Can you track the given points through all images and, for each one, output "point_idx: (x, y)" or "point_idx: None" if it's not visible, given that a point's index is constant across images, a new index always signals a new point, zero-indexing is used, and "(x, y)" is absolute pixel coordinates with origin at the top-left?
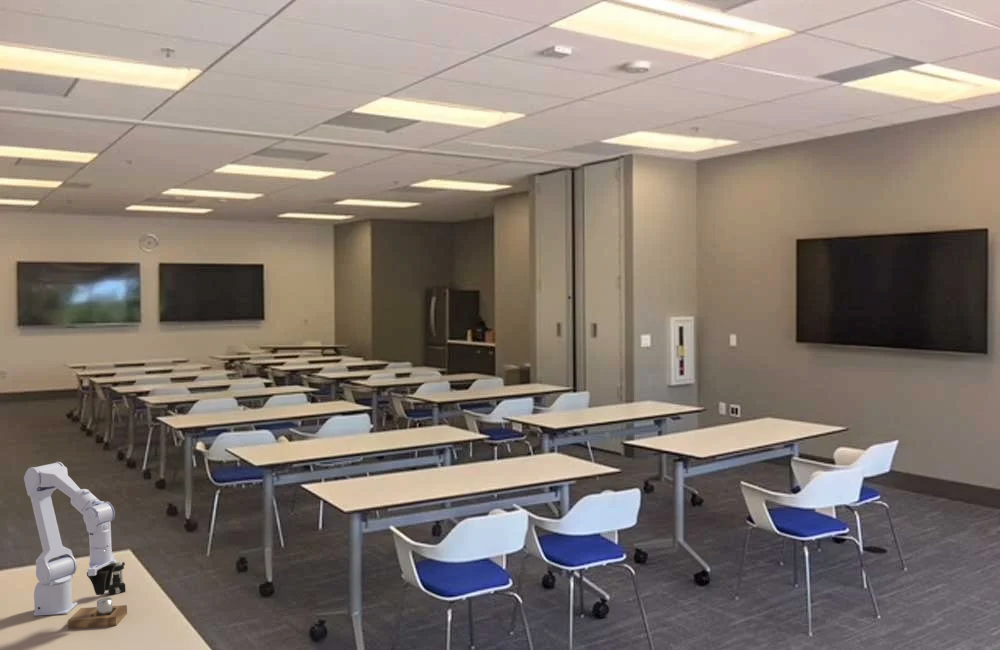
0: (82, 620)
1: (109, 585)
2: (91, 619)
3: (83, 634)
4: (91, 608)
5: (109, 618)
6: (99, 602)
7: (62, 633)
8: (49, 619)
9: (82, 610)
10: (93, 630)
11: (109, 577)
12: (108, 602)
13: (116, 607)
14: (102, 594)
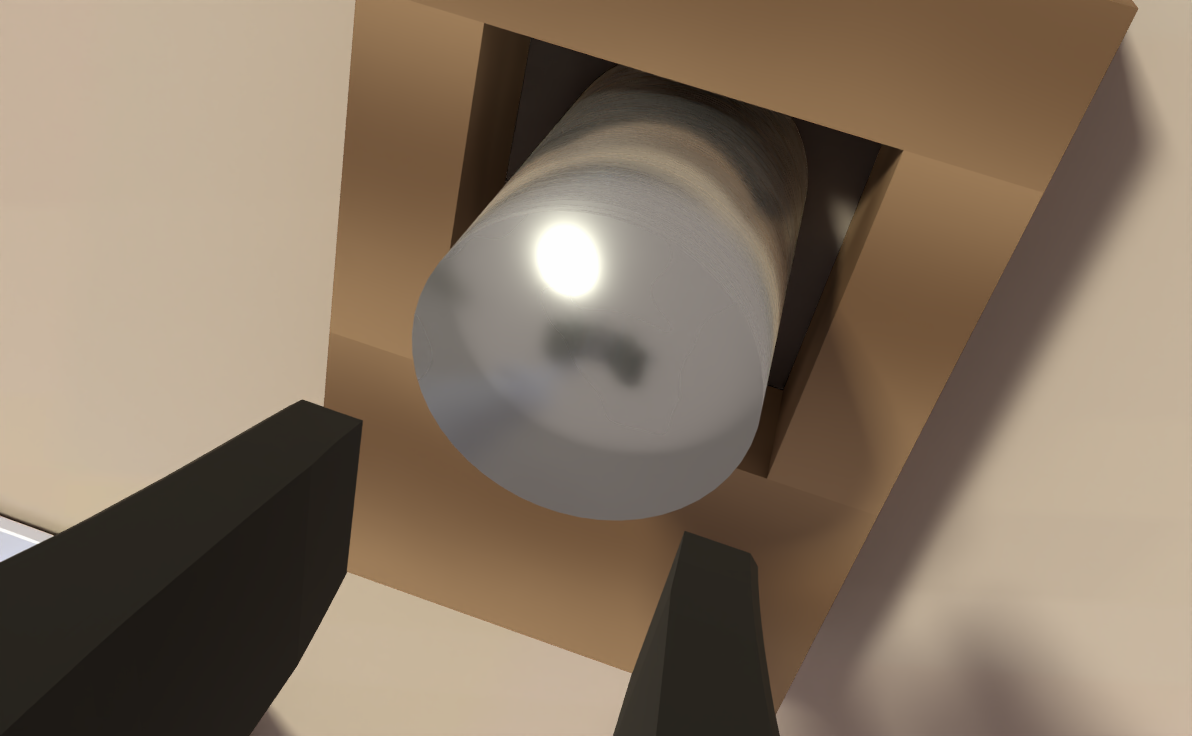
0: (848, 561)
1: (252, 457)
2: (902, 451)
3: (1174, 482)
4: (370, 440)
5: (1060, 146)
6: (694, 477)
7: (921, 683)
8: (363, 732)
9: (421, 548)
10: (1080, 350)
11: (72, 695)
12: (728, 283)
13: (453, 30)
14: (750, 578)
